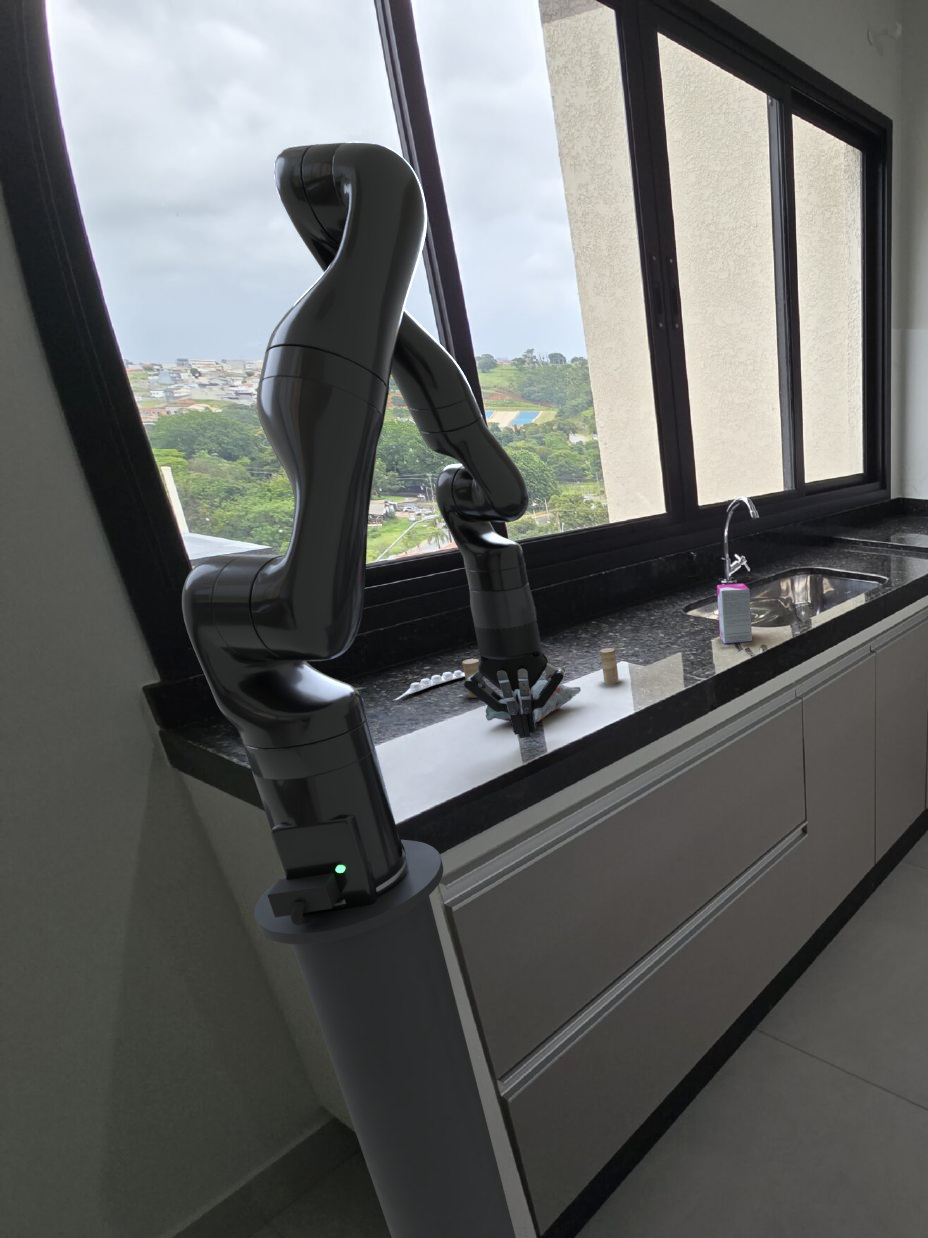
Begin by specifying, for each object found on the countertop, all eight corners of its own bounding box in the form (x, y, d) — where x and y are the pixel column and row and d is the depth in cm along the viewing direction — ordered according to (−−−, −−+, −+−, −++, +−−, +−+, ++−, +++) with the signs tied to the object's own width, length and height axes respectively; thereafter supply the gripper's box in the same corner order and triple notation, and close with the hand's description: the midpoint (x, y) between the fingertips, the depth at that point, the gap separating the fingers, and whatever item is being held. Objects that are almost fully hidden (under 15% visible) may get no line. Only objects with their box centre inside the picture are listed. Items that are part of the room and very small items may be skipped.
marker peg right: (618, 684, 128) (614, 651, 126) (604, 685, 128) (599, 652, 125) (619, 679, 130) (615, 647, 128) (604, 680, 130) (600, 648, 128)
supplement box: (753, 643, 151) (749, 588, 147) (724, 646, 148) (719, 591, 144) (747, 635, 156) (744, 582, 152) (719, 638, 153) (714, 584, 149)
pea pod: (469, 671, 133) (467, 662, 133) (484, 675, 131) (482, 667, 131) (381, 697, 121) (378, 688, 121) (396, 703, 119) (394, 694, 118)
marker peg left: (484, 697, 122) (477, 662, 120) (467, 698, 121) (460, 664, 119) (486, 691, 124) (480, 658, 122) (470, 693, 123) (463, 659, 121)
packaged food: (582, 703, 120) (578, 675, 118) (536, 733, 109) (530, 702, 107) (535, 700, 121) (529, 672, 120) (484, 729, 110) (477, 698, 109)
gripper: (442, 630, 94) (468, 752, 100) (555, 622, 98) (574, 740, 104) (455, 614, 100) (479, 730, 106) (561, 607, 104) (578, 719, 110)
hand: (526, 735), depth 105 cm, fingers closed
